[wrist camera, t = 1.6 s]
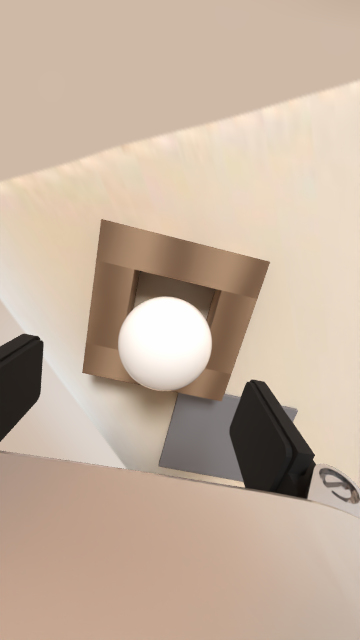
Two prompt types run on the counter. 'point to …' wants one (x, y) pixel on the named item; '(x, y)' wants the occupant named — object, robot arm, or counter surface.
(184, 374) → the lightbulb
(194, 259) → the socket collar
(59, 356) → the counter surface
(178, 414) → the mat
